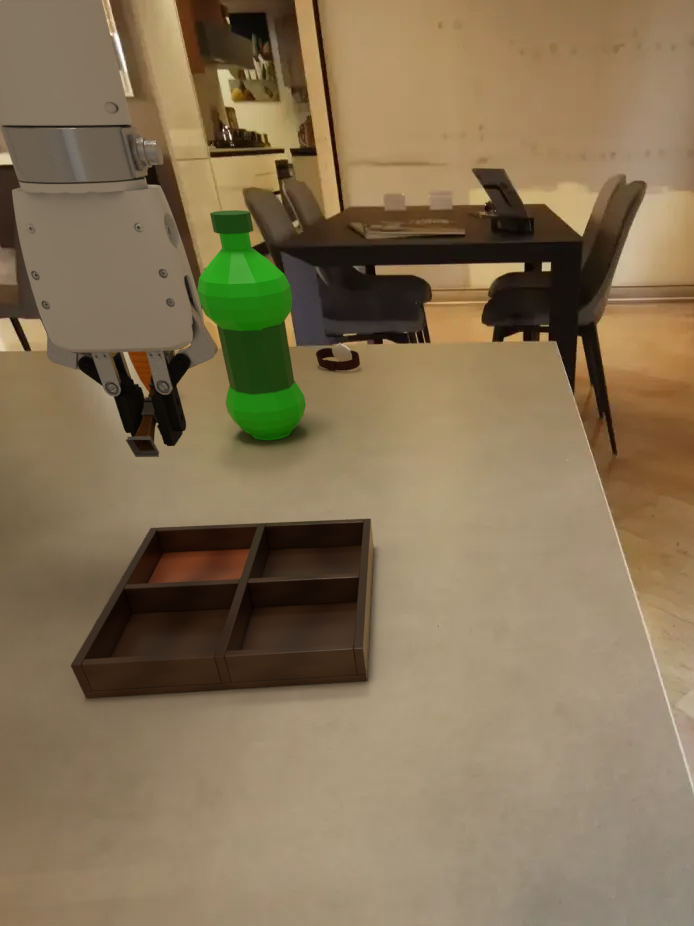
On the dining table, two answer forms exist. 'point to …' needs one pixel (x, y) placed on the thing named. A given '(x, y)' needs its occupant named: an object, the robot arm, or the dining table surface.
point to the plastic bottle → (251, 330)
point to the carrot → (141, 367)
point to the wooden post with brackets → (146, 430)
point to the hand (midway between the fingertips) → (159, 438)
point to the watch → (340, 352)
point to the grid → (235, 610)
